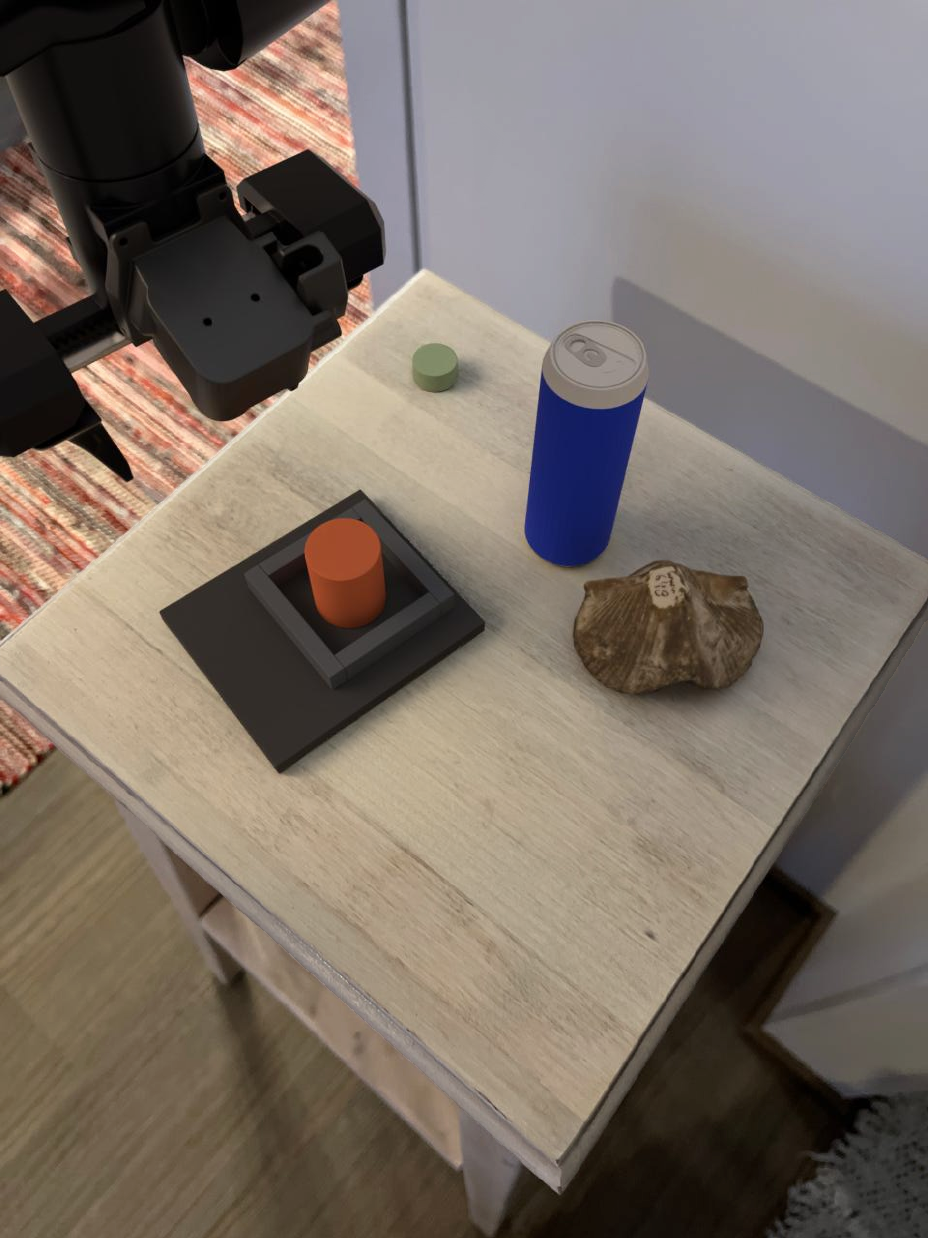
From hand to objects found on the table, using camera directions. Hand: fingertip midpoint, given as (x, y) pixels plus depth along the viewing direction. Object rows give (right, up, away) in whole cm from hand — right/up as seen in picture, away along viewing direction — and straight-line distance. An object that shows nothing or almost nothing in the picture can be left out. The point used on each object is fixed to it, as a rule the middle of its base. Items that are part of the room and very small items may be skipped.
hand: (209, 429), depth 48 cm
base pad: (+4, -10, +8) cm, 13 cm away
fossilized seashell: (+23, -11, +8) cm, 27 cm away
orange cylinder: (+6, -8, +8) cm, 13 cm away
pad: (+10, +7, +18) cm, 22 cm away
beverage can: (+19, -4, +12) cm, 22 cm away
